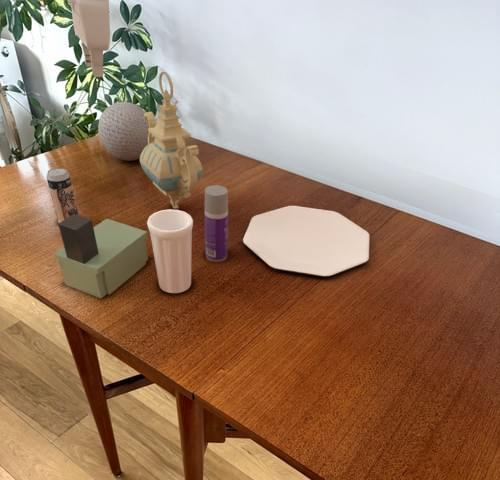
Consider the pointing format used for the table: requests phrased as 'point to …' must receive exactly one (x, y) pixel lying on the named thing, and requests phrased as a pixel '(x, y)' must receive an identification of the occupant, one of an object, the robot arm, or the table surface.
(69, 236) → the block
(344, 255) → the plate
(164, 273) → the cup
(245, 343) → the table surface
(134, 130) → the decorative ball
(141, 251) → the sage green lidded box
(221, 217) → the container
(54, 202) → the white lidded canister
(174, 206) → the ornate tan lantern
